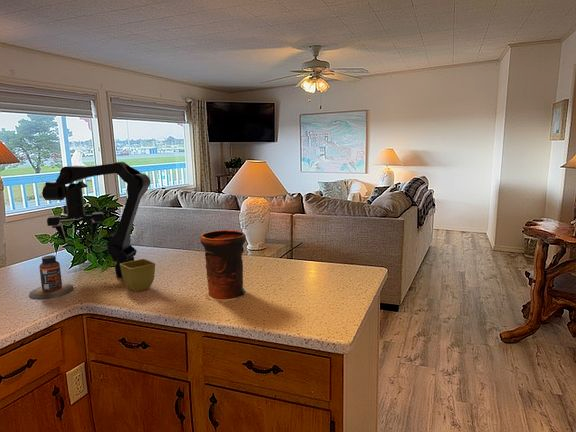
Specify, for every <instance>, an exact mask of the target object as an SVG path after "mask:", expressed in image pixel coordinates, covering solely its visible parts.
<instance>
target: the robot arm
mask: <svg viewBox="0 0 576 432" xmlns="http://www.w3.org/2000/svg"><path fill="white" fill-rule="evenodd" d="M113 174H117V175H118V176H119V177H120V179H121V180H122V181H123V182H124V183H126V184H127V185H126V191H127V198H126V201H125V204H124V208H123V211H122V213H121V217H120V220H119V224H118V227H117V230H116V231H115V232H114V233H112V234H110V235H109V236H108V240H107V241H108V242H107V243H106V244H105V245H106V246H107V248H106V250H107V251H106V252H108V254H109V255H110V257H111V258H112V261H113V262H114V269H115V271H114V272H115V275H116V276H117V278H123V277H122V272H121V268H120V264H121V263H125V262H130V261H135V256H136V254H137V249H136V248H135V247H134V246H132V245H131V240H132V238H131V231H132V227H133V225H134V221H135V218H136V216H137V212H138V210H139V205H140V202H141V200H142V198H143V197H144V195H145V194H146V192H147V190H148V189H149V187H150V186H151V185H150V184H151V179H150V177H149V175H147V174H145V173H142V172H140V171H139V170H137V169H135V168H133V167H132V166H130V165H128V163H126V162H124V161H117V162H113V163H108V164H100V165H99V164H98V165H93V166H92V165H90V166H87V165H70V166H69V165H67V166H63V167H61V168H60V171H59V175H58V176H57V178H56V180H55V181H46V182H44V186H43V188H42V192H41V196H42V198H43V199H44V200H45V201H64V200H65V204H66V205H63V214H64V215H67V216H64V217H63V216H62V217H61V215H60V214H59V215H49V216H48V217H47V218H46V224H47V227H51V228H52V229H54V228H55V230H56V231H57V233H58V234H59V235H60V237H61V239H62V241H63V242H64V243H65V244H66V243H67V238H66V236H65V235H66V234H65V231H64V227H63V223H71V222H79V221H80V222H81V221H91V222H92V223H91V226H92V227H91V240H92V241H94V238H95V234H96V230H97V228H98V225H100V224H101V223H102V222H105V214H104V212H103V211H98V212H96V211H95V212H92V214H90V215H89V214H87V215H86V209H85V205H84V196H83V189H85V188H88V185H87V184H86V183H85V182H84V181H83V180H86V179H88V178H90V177H97V176H105V175H113Z"/></svg>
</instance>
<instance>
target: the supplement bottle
mask: <svg viewBox="0 0 576 432" xmlns="http://www.w3.org/2000/svg"><path fill="white" fill-rule="evenodd" d="M41 261H42V262H41V263H40V264H39V274H40V276H39V277H40V283H41V287H42V290H43V291H46V292H50V291H56V290H59V289H60V288H62V283H63V281H62V280H63V279H62V272H61V265H60V262H59V261H57V256H56V255H51V254H50V255H45V256H42V257H41Z"/></svg>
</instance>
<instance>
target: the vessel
mask: <svg viewBox="0 0 576 432" xmlns="http://www.w3.org/2000/svg"><path fill="white" fill-rule="evenodd" d="M199 239H200V240H199V242H200V244H201V245H202V246H203V247H204V252H205V253H204V256H205V258H204V259H205V270H206V279H207V288H208V289H207V290H208V291H207V292H206V293H205V296H206V298H207V300H212V301H214V302H228V301H234V300H236V299H238V298H240V297H244V296H245V295H246V293H247V291H246V290H245V287H244V274H243V272H244V263H243V262H244V260H243V253H244V250H245V249H244V244H245V242H246V239H247V238H246V234H245V233H244V232H243V231H239V230H238V231H237V230H234V229H233V230H232V229H220V230H213V231H206V232H203V233H202V234H200V236H199Z"/></svg>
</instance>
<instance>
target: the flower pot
mask: <svg viewBox="0 0 576 432" xmlns="http://www.w3.org/2000/svg"><path fill="white" fill-rule="evenodd" d="M120 268H121V272H122V277H121V278H122V279H123V281H124V283H125V285H126V287H127V288H128V289H130V290H131V291H133V292H136V293H137V292H140V291H143V290H148V289H150V288H151V286H152V285H153V282H154V279H155V272H156V263H155V262H153V261H151V260H148V259H146V258H141V259H134V261H130V262H125V263H121V264H120Z"/></svg>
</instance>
